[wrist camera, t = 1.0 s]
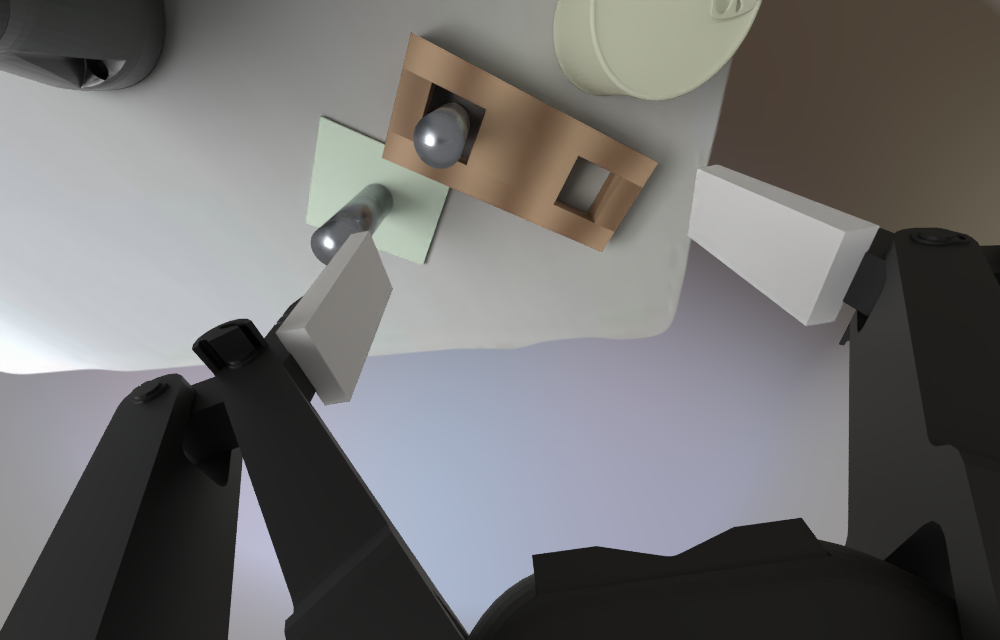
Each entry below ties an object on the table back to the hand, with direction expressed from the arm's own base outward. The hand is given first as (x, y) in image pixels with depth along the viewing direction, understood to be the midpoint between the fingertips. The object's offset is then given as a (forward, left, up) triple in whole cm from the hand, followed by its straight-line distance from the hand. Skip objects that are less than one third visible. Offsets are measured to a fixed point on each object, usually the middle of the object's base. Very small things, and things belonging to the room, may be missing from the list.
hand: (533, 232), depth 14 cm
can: (+4, +11, -22) cm, 25 cm away
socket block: (+1, 0, -22) cm, 22 cm away
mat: (-10, -9, -22) cm, 25 cm away
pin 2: (-5, 0, -22) cm, 22 cm away
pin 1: (-10, -9, -21) cm, 25 cm away
